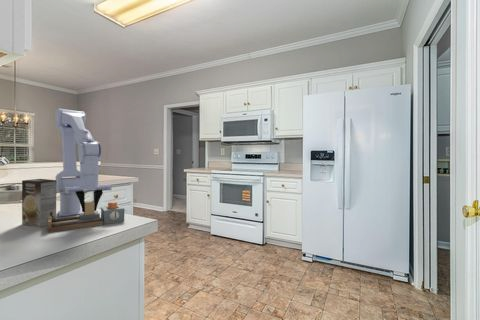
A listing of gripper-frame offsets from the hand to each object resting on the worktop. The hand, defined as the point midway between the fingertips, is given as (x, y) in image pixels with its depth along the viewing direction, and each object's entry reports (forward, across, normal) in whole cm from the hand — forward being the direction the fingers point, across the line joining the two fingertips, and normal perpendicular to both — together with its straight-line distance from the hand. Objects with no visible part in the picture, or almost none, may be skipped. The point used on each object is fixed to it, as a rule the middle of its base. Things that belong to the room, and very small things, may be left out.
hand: (89, 211), depth 92 cm
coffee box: (+5, -15, +10) cm, 18 cm away
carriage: (+3, 0, 0) cm, 3 cm away
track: (+5, -4, 0) cm, 6 cm away
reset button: (+2, +8, 0) cm, 8 cm away
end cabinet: (+5, +8, 0) cm, 9 cm away
